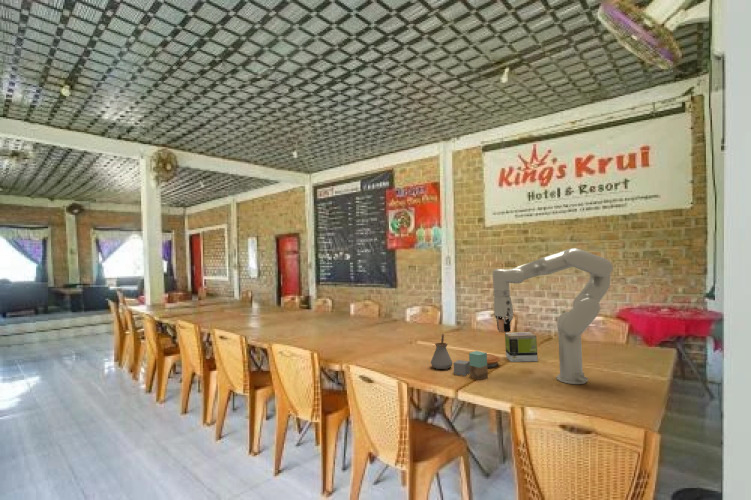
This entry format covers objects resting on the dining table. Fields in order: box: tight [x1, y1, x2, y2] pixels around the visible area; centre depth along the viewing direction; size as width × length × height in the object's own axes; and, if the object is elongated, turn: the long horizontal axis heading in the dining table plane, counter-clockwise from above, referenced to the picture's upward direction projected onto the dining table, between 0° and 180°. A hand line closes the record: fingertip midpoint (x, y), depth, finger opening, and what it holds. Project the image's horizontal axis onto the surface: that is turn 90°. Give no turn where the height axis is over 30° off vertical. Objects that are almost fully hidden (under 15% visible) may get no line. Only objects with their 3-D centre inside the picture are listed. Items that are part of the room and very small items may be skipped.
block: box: [453, 359, 470, 377], centre depth 191 cm, size 6×6×6 cm
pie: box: [487, 353, 501, 369], centre depth 206 cm, size 16×16×5 cm
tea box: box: [504, 331, 539, 363], centre depth 214 cm, size 15×10×15 cm
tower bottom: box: [469, 366, 489, 381], centre depth 185 cm, size 6×6×6 cm
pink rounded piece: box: [497, 318, 509, 334], centre depth 186 cm, size 5×5×6 cm
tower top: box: [468, 350, 488, 368], centre depth 185 cm, size 6×6×6 cm
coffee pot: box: [430, 333, 453, 370], centre depth 207 cm, size 21×12×15 cm, turn 165°
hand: (503, 330), depth 186 cm, fingers closed on pink rounded piece, 5 cm apart
